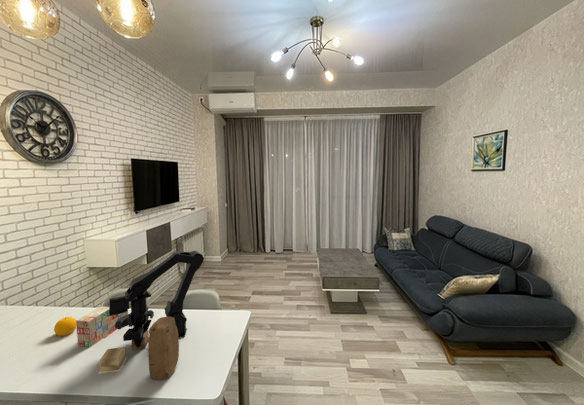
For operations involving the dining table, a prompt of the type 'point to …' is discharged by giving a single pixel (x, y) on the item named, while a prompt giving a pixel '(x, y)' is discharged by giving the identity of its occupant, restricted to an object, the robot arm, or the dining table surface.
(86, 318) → the stack of blocks
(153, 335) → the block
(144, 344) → the walnut cube
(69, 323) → the orange
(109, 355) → the oak base block
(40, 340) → the dining table surface
